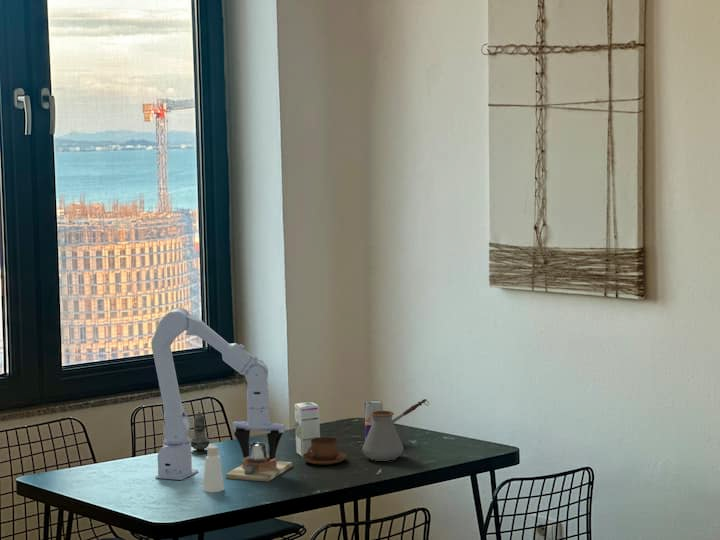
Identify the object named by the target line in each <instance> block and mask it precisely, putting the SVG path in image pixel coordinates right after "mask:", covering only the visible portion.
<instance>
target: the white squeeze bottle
mask: <svg viewBox="0 0 720 540" xmlns="http://www.w3.org/2000/svg"><path fill="white" fill-rule="evenodd" d="M206 450H207V453H208V454H207V456H205V458H204V459H205V460H204V461H205V462H204V473H203V487H202V488H203V491H204V492H205V493H210V494H211V493H212V494H213V493H220V492H222V491H224V490H225V485H224V478H223V470H222V464H221V463H222V462H221V457H220V455H219V447H218V445H208V447H207V448H206Z"/></svg>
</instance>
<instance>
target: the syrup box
mask: <svg viewBox="0 0 720 540" xmlns="http://www.w3.org/2000/svg"><path fill="white" fill-rule="evenodd" d="M294 422H295V423H294V425H295V427H294V428H295V452H296V454H297V455H299V457H302V458H303V455H304V454H306V453H308V449H309V448H310V447H311V440H312V439H315V438H321V432H320V431H321V428H320V405H318V404H317V403H314V402H312V401H309V402H308V401H305V402H299V403H298V402H297V403H294ZM310 452H311V450H310Z"/></svg>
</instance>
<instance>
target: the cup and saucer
mask: <svg viewBox="0 0 720 540" xmlns="http://www.w3.org/2000/svg"><path fill="white" fill-rule="evenodd" d="M338 440H339V439H337V438H336V437H326V436H324V437H320V438H315V439H312V440H311V447H310V448H309V449H308V453H306V454H304V455H303V457H302V459H303V460H304V461H306V463H309V464H313V465H322V466H326V465H327V466H329V465H335V464H338V463H341V462H343V461H344V460H345V459H346V458H347V453H345V452H343V451H339V450H338V449H339V444H338V443H339V442H338ZM310 450H311V452H310Z"/></svg>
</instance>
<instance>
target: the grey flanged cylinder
mask: <svg viewBox="0 0 720 540" xmlns="http://www.w3.org/2000/svg"><path fill="white" fill-rule="evenodd" d="M193 419H194V421H193V422H194V423H193V427H192V428H193V429H194V432H193V433H194V434H193V435H194V436H193V438H191V448H193V449H194V450H191V455H195V456H200V455H201V456H202V455H206V454H207V455H208V453H207V447H209V446H210V445H209V444H210V441H211V439H210V438H208V437H207V435H206V427H207V426H205V416H204V415H203V414H201V412H200V411H198V412H197V414H196V415H195V416H193Z"/></svg>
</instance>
